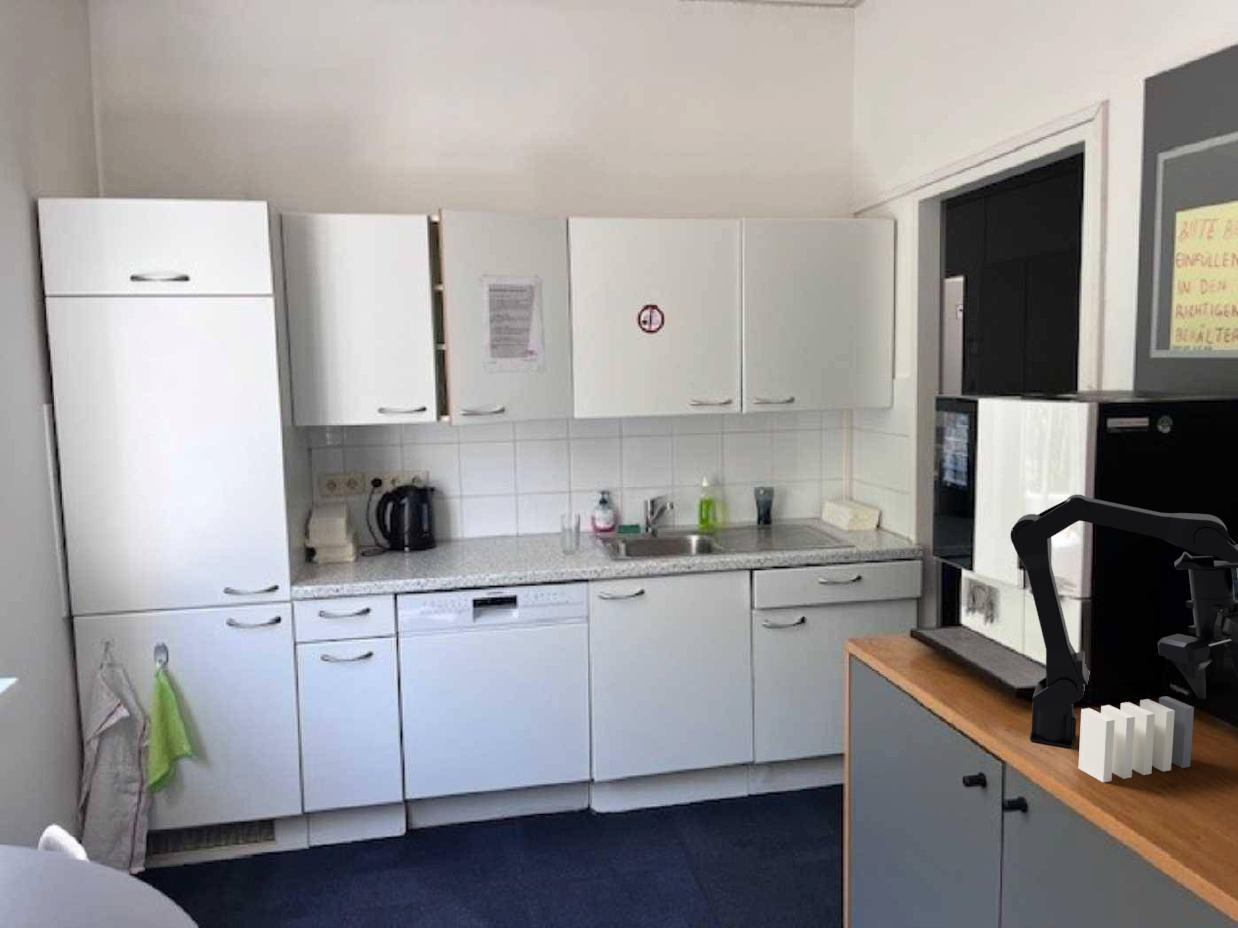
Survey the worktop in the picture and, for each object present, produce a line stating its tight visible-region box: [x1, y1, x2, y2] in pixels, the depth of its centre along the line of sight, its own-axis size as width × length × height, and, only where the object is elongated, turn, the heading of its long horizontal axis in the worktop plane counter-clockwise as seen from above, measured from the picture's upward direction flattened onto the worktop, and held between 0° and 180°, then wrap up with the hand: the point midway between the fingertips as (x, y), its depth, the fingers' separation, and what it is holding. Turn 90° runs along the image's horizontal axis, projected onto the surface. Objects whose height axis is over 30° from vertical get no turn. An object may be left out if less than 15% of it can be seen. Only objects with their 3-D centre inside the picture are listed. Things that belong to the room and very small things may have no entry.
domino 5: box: [1158, 695, 1195, 769], centre depth 144 cm, size 2×5×10 cm, turn 16°
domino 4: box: [1139, 698, 1175, 772], centre depth 143 cm, size 2×5×10 cm, turn 16°
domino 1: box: [1077, 707, 1115, 783], centre depth 139 cm, size 2×5×10 cm, turn 16°
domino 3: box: [1119, 701, 1155, 776], centre depth 142 cm, size 2×5×10 cm, turn 16°
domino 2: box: [1100, 704, 1135, 780], centre depth 141 cm, size 2×5×10 cm, turn 16°
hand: (1223, 691), depth 140 cm, fingers open, 9 cm apart
